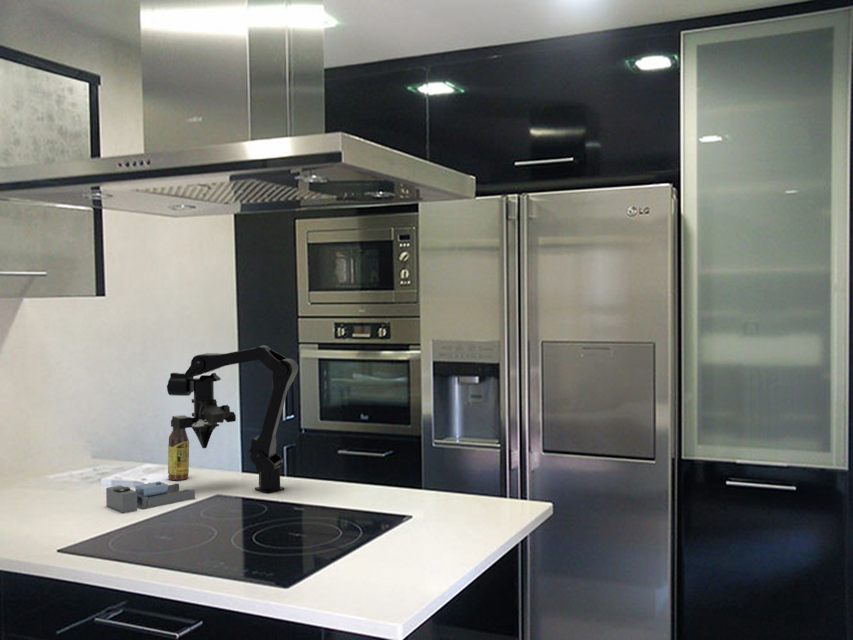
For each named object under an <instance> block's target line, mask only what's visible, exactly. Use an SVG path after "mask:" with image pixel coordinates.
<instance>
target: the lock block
mask: <svg viewBox="0 0 853 640" xmlns="http://www.w3.org/2000/svg"><path fill="white" fill-rule="evenodd" d="M168 485H169V484H168V483H165V482H162V481H154V482H148V483H143V484H138V485H135V486H134V488H135V490H134V491H136V492H137V493H139V494H141V495H144V496H146V497H152V496H157V495H163V494H168Z"/></svg>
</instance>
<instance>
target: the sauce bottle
mask: <svg viewBox="0 0 853 640" xmlns="http://www.w3.org/2000/svg"><path fill="white" fill-rule="evenodd" d="M178 416H186V414H185V415H184V414H174V415H172V416H171V417H172V418H173V417H178ZM172 418H171V419H172ZM187 434H188V433H187V430H186V428H183V429H180V428H175V427H172V431H171V433H170V435H169V436H168V446H167V448H168V451H167V453H168V454H167V455H168V456H167V459H168V460H167V475H168V477H167V478H168V480H171V481H183V480H186V479H188V478H189V472H190V471H189V470H190V469H189V467H190V441H189V440H190V439H189V437H188V435H187Z"/></svg>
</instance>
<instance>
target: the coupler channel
mask: <svg viewBox="0 0 853 640" xmlns="http://www.w3.org/2000/svg"><path fill="white" fill-rule="evenodd" d="M105 491H106V492H105V495H106V497H105V498H106V507H108V508H110V509H112V510H114V509H115V510H114V511H117V512H119V513H121V512H122V514H126V513H130V511H131V512H136V511H138V508H139V509H141V510H144V509H145V510H146V509H150V508H155V507H160V506H164V505H169V504H176V503H178V502H179V501H180V502H183V501H184V500H185V501H188V499H189V500H195V499H196V490H195V489H194V488H191V489H184V490H180V483H173V484H168V494H163V495H157V496H152V497H146V496H144V495H141V494H139V493H137V492H136V491H135V490H134V489H131V487H129V486H124V485H115V486H110V487H106V489H105ZM180 502H179V503H180ZM125 512H126V513H125Z"/></svg>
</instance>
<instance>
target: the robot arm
mask: <svg viewBox="0 0 853 640" xmlns="http://www.w3.org/2000/svg"><path fill="white" fill-rule="evenodd" d="M258 360H259V361H260V362H261V363H262V364H263V365H264V366H265V367H266V368H267V369H268V370H270V371H271V372H272V374H271V375H272V376H271V377H272V378H271V381H272V390H271V394H270V398H269V402H268V405H267V409H266V413H265V416H264V419H263V424H262V428H261V431H260V434H259V435H257V436H255V437H253V438H252V440H251V444H250V445H251V446H250V449H249V450H248V453H250V454H249V459H250V460H251V462H252V463H253V464H254V466H255V469H256V472H258V486H257V487H254V491H255V490H256V491H258V490H259V491H258V492H262V491H263V492H262V493H265V492H266V494H269V493H273V491H274V492H278V491H277V490H279V491H282V490H281V489H283V490H285V489H284V488H285V487H284V486H281V469H280V467H282V465H283V462H284V459H283V457H281V456H280V455H279V454H278V453H277V452H276V451H277V437H276V436H277V431H278V428H279V423H280V419H281V416H282V413H283V408H284V405H285V401H286V398H287V395H288V394H287V393H288V390H289V389H290V387H291V386H292V384H293V383H294V381H295V379H296V378H295V377H296V376H297V374H298V373H299V372H298V371H299V365H298V363H297V362H296V361H295V360H294V359H293V358H287V357H285V356H284V355H282V354H280V353H279V352H276V351H275V350H273V349H271V348H270V347H269V346H268V345H260V346H256V347H253V348H249V349H248V348H246V349H242V350H238V351H237V350H236V351H232V352H228V353H227V352H226V353H218V352H217V353H215V352H213V353H211V352H210V353H209V352H207V353H201V354H197V355H195V356H193V357H192V359H191V361H190V366H189V367H188V369H187V370H186V372H183V373H182V372H181V373H179V372H171V373H169V374H170V377H169V378H168V381H167V385H166V390H167V394H168V395H169V396H173V397H175V396H177V397H178V396H179V397H180V396H181V397H183V396H184V397H187V396H188V397H189V396H190V395H191V394H192V393H193V398H192V399H191V403H192V404H193V411H194V412H192V413H191V416H186V415H185V416H178V417H173V418H171V420H170V427H172V428H173V427H175V428H180V429H183V428H185V429H188V428H189V429H190V428H191V429H192V430H193V432H194V434H195V436H196V438H197V439H198V442H199V445H200V446H201V448H202V449H207V448H208V444H209V441H210V438H211V436H212V434H213V432H214V430H215V429H216V428H217V427H219V426H220V424H223V423H225V422H226V423H231V422H236V421H237V415H236V413H235V412H234V411H231V406H229V405H228V404H223V405H221V406H218V404H217V403H218V402H217V399H215V397H214V395H215V394H214V393H215V392H214V391H215V388H214V387H215V386H214V382H218V381H221V377H220V376H218V375H217V373H216V372H213V371H217V370H219V369H221V368H224V367H226V366H231V365H236V364H237V365H238V364H242V363H246V362H247V363H248V362H253V361H258ZM211 372H212V373H211ZM206 373H211V374H208V375H207V374H206ZM204 374H205V375H204ZM198 376H200V377H198ZM194 377H196V378H194ZM224 421H225V422H224ZM219 423H220V424H219ZM268 492H269V493H268Z"/></svg>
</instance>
